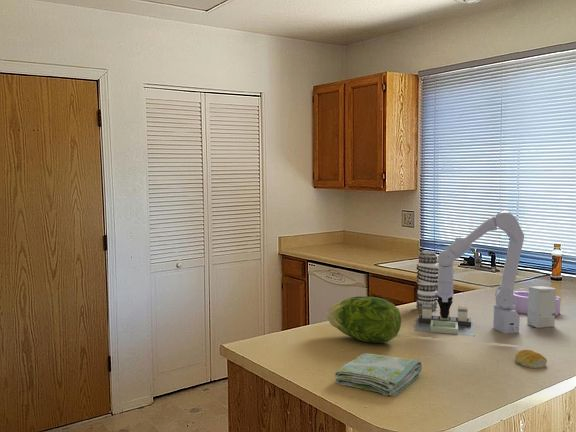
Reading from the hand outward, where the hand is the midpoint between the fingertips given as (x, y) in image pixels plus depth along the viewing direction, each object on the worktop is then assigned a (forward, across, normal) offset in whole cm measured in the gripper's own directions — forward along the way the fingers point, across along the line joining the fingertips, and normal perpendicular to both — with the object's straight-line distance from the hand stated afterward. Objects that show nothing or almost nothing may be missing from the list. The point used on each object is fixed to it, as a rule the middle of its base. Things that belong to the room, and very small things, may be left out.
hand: (444, 316), depth 211 cm
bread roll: (+4, +37, +26) cm, 45 cm away
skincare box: (+3, -10, +36) cm, 37 cm away
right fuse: (+2, 0, +6) cm, 7 cm away
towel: (+4, +63, -17) cm, 66 cm away
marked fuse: (+2, 0, 0) cm, 2 cm away
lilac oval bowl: (+4, -34, +36) cm, 50 cm away
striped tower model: (+3, -21, -8) cm, 22 cm away
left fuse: (+2, 0, -6) cm, 7 cm away
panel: (+3, +5, 0) cm, 6 cm away
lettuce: (+3, +28, -27) cm, 39 cm away
